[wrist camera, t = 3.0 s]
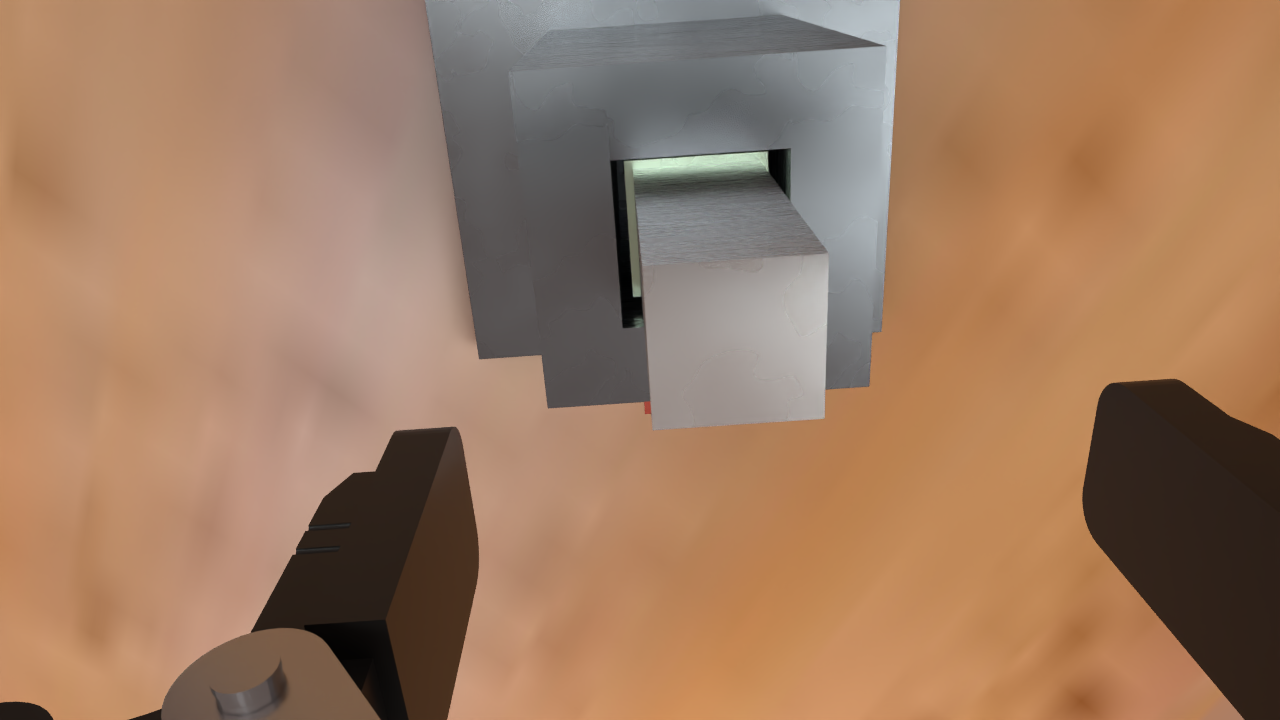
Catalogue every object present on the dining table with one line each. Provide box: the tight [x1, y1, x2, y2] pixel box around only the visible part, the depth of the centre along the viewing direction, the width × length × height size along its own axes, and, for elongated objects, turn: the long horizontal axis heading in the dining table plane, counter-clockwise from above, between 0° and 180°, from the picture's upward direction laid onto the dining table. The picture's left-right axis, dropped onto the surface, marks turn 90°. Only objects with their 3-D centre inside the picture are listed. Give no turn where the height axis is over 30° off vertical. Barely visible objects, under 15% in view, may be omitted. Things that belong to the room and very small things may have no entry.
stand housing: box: [425, 0, 900, 414], centre depth 27 cm, size 16×16×14 cm
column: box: [624, 150, 829, 430], centre depth 23 cm, size 3×3×18 cm
